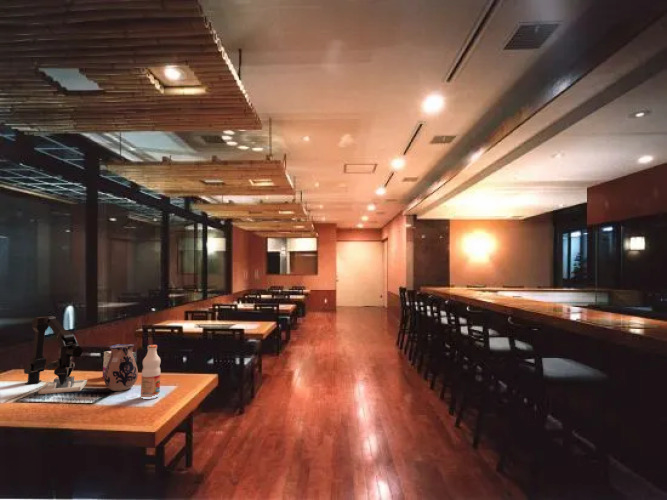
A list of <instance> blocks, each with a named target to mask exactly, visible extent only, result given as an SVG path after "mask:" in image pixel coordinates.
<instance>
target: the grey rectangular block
mask: <svg viewBox="0 0 667 500" xmlns="http://www.w3.org/2000/svg"><path fill="white" fill-rule="evenodd" d="M74 380H75V376H73V375H70V376H69V377H66V379H65V381H64V383H63V385H60V381H59V377H58V376H57V377H55V378H53V382H54V383H55V382H56V388H66V387H68V382H71V386H70V387H72V386H73V385H74Z"/></svg>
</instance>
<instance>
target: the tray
mask: <svg viewBox="0 0 667 500" xmlns="http://www.w3.org/2000/svg"><path fill="white" fill-rule="evenodd" d="M87 383H88V379H74V385H73V386H72V387H70V386H71V382H68V387H66V388H56V382H55V383H54V381H47V383H45V384H44V385H43V386H42V387H40V388H39V389H38V393H37V394H38V395H44V394H45V395H46V394H57V393H59V394H60V393H69V392H71V393H72V392H80V391H82V389H83V388H85V386H86V384H87Z"/></svg>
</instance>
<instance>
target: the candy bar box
mask: <svg viewBox="0 0 667 500" xmlns="http://www.w3.org/2000/svg"><path fill="white" fill-rule="evenodd" d="M110 356H111V350H107V351H104V352H103V363H102V364H103V365H102V378H103V377H104V374H105V370H106V367H107V364H108V362H109V359H110Z"/></svg>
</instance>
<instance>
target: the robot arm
mask: <svg viewBox="0 0 667 500" xmlns="http://www.w3.org/2000/svg"><path fill="white" fill-rule="evenodd" d="M31 324H32V325H31V328H32V330H33V331H34V339H33V348H32V356H31V357H30V359H29V360H28V362H27V363H28V364H27V365H26V367H25V368H24V369H23V373H24V374H25V375H27V381H26V382H25V385H33V384H35V385H36V384H39V383H40V382H42V379H40V375H41V372H44V371H45V368H47V369H48V371H51V370H52V369H54V368H55V369H54V370H53V375H55V376H57V377H59V381H60V385H63V383H64V381H65V379H66V377H70V376H71V374H72V373H73V370H74V368H75V364H76V363H75V362H74V361H72V359H73V358H78V357H81V356H82V355H83V351H84V350H83V348H81V347H80V344H78V341H77V338H76V335H74V333H73V332H71V331H70V330H66V329H65V328H64V326H63V325H62V324H61V322H59V321H58V320H57V316H54V315H52V316H38V317H37V316H36V317H34V318H33V319H32V321H31ZM49 328H50V330H52V332H54V334H55V335H56V340H57V342H58V343H59V345H58V346H57V348H59V357H58V359H57V360H54V361H50V362H48V363H47V358H45V356H44V347H45V345H44V344H45V336H46V335H45V334H46V331H47V330H48V329H49Z"/></svg>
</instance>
